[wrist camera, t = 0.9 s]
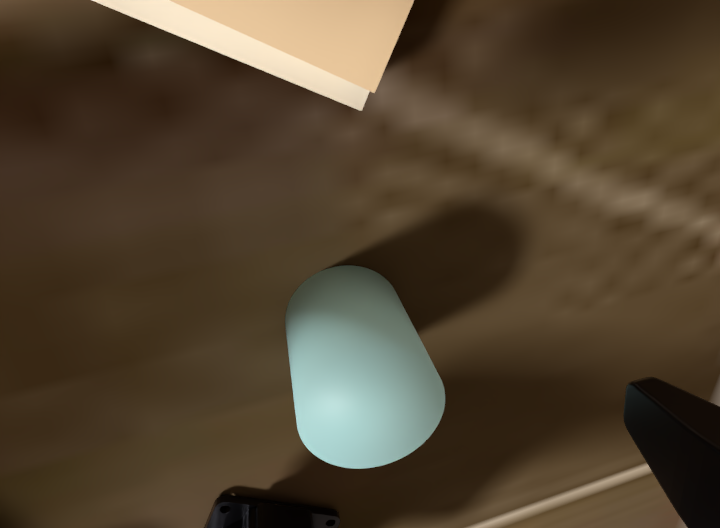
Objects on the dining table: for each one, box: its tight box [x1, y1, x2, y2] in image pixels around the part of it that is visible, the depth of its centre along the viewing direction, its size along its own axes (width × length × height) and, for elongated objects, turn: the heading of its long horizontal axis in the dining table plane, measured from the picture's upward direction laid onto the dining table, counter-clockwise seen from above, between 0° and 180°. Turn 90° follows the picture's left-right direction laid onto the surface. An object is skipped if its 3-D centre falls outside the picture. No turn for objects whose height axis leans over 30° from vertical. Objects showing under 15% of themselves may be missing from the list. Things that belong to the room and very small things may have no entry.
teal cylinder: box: [285, 265, 445, 469], centre depth 20 cm, size 5×5×6 cm
